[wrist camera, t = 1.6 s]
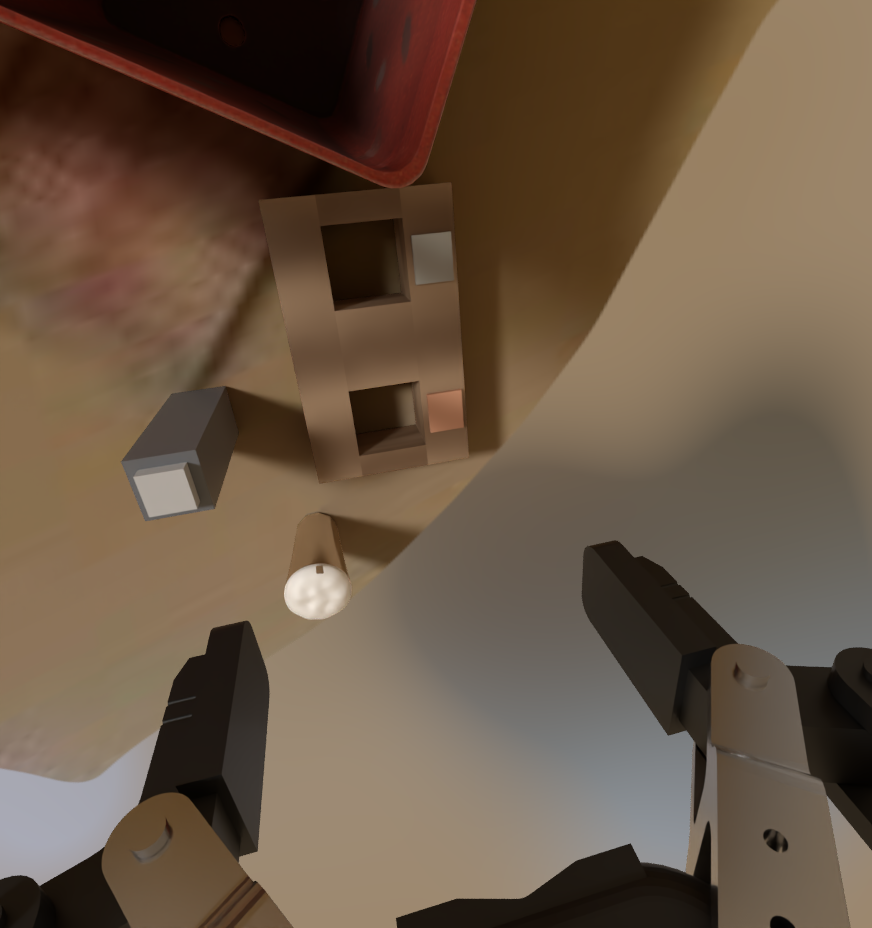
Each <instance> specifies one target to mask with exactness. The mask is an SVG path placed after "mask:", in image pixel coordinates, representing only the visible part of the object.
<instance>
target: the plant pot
mask: <svg viewBox="0 0 872 928" xmlns="http://www.w3.org/2000/svg"><path fill="white" fill-rule="evenodd" d="M476 1H477V0H0V22H1V23H3V24H6V25H8V26H11V27H13V28H15V29H18V30H20V31H22V32H25V33H27V34H29V35H32V36H34V37H37V38H39V39H41V40H44V41H46V42H48V43H51V44H53V45H56V46H58V47H60V48H63V49H65V50H67V51H70V52H72V53H74V54H77V55H79V56H82V57H84V58H86V59H89V60H91V61H93V62H96V63H98V64H101V65H103V66H105V67H108V68H110V69H112V70H115V71H117V72H119V73H122V74H124V75H127V76H129V77H131V78H134V79H136V80H138V81H141V82H143V83H145V84H148V85H150V86H153V87H155V88H157V89H160V90H162V91H164V92H166V93H169V94H171V95H173V96H176V97H178V98H180V99H183V100H185V101H187V102H190V103H192V104H194V105H197V106H199V107H201V108H204V109H206V110H208V111H210V112H213V113H215V114H217V115H220V116H222V117H224V118H227V119H229V120H231V121H234V122H236V123H238V124H241V125H243V126H245V127H248V128H250V129H252V130H255V131H257V132H259V133H261V134H264V135H266V136H268V137H271V138H273V139H275V140H278V141H280V142H282V143H284V144H287V145H289V146H291V147H294V148H296V149H298V150H300V151H303V152H305V153H307V154H310V155H312V156H314V157H316V158H319V159H321V160H323V161H326V162H328V163H330V164H332V165H335V166H337V167H339V168H342V169H344V170H346V171H348V172H351V173H353V174H355V175H358V176H360V177H362V178H364V179H367V180H369V181H371V182H373V183H376V184H378V185H380V186H383V187H387V188H403V187H407V186H408V185H410V184H412V183H413V182H414V181H415V180H417V179H418V178H419V177H420V176H421V175H422V173H423V172H424V169H425V167H426V165H427V163H428V159H429V156H430V153H431V149H432V146H433V143H434V140H435V136H436V133H437V130H438V127H439V123H440V120H441V117H442V113H443V110H444V107H445V103H446V100H447V97H448V94H449V90H450V87H451V84H452V80H453V77H454V74H455V70H456V67H457V64H458V60H459V57H460V54H461V50H462V47H463V44H464V40H465V37H466V34H467V31H468V27H469V24H470V21H471V18H472V14H473V11H474V8H475V4H476ZM229 15H231V16H234V17H236V18H237V19H238V20H239V21H240V22H241V23H242V27H243V30H244V31H245V40H244V42H243V43H242V44H241V45H240V46H237V47H235V46H231V45H228V44H227V43H226V42H225V41H224V40H223V39H222V37H221V34H220V31H219V23H220V20H221V19H222V18H223V17H226V16H229Z"/></svg>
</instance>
